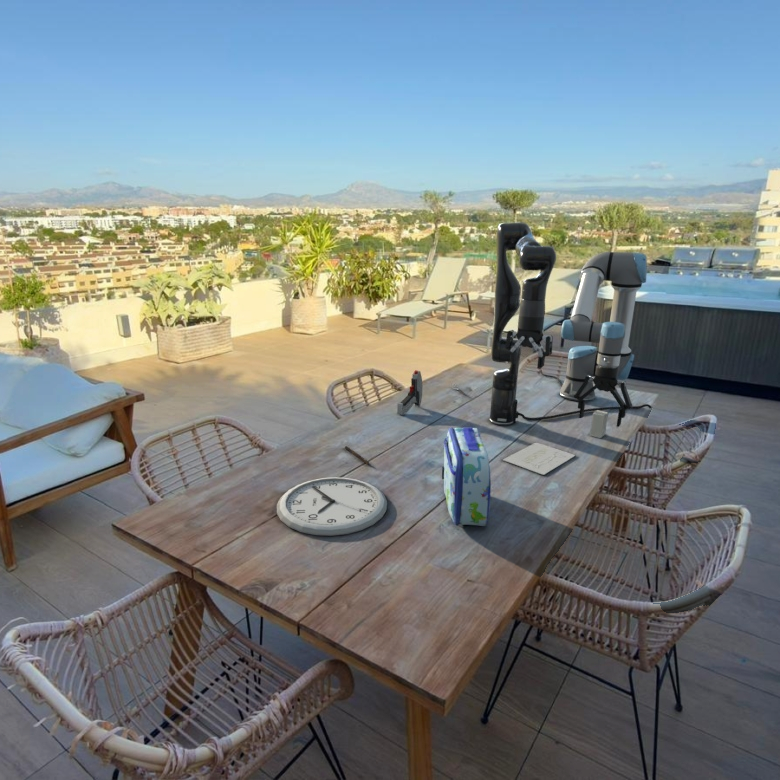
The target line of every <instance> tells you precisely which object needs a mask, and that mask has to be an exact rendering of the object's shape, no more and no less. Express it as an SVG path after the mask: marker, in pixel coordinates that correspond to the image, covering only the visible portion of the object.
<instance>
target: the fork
mask: <svg viewBox="0 0 780 780" xmlns="http://www.w3.org/2000/svg"><path fill="white" fill-rule="evenodd" d="M450 385H451V387H452V389H453V390H457V391H458V392H459V393H460V394H462V395H463V396H466V397H467V394H466V393H465V392H464V391H463V390H460V389H459V387H458V385H457V383H456V382H454V383H451V384H450Z"/></svg>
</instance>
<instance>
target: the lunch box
mask: <svg viewBox="0 0 780 780" xmlns="http://www.w3.org/2000/svg"><path fill="white" fill-rule="evenodd" d="M443 448H444V450H443V465H442V466H441V467H442V468H441V480H443V493H444V495H445V500H446V506H447V510H448V515H449V517H450V519H451V521H452V523H453V524H454V525H455V527H458V526H465V525H469V526H480V527H485V526H487V524H488V521H489V516H490V507H491V490H492V489H491V487H492V483H491V481H492V480H491V479H492V478H491V477H492V476H491V467H490V463H489V455H488V451H487V449H486V447H485V445H484V443H483V440H482V437H481V433H480V431H479V429H478V428H477V427H473V426H468V427H449V428H448V431H447V435H446V437H445V439H444V440H443Z"/></svg>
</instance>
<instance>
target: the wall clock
mask: <svg viewBox="0 0 780 780" xmlns="http://www.w3.org/2000/svg"><path fill="white" fill-rule="evenodd" d="M387 509H388V500H387V498H386V496H385V494H384V493H383V492H382V491H381V490H380V489H379V488H377V487H376V486H374V485H372V484H371V483H369V482H365V481H362V480H359V479H355V478H349V477H338V476H337V477H335V476H333V477H332V476H331V477H322V478H317V479H312V480H307V481H305V482H302V483H299V484H297V485H295V486H293V487H292V488H290V489H288V490H287V491H286V492H285V493H284V494H283V495H281V496H280V498H279V499H278V502H277V503H276V515H277V517H278V518H279V520H280V521H281V522H282V523H283V524H285V525H286V526H287V527H288V528H290V529H293V530H295V531H297V532H299V533H303V534H308V535H312V536H327V537H328V536H329V537H331V536H332V537H333V536H342V535H350V534H352V533H356V532H361V531H363V530H366V529H368V528H369V527H372V526H373V525H375V524H376V523H378V522H379V521H380V520H381V519H382V518H383V517H384V516H385V514H386V512H387Z"/></svg>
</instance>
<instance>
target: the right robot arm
mask: <svg viewBox="0 0 780 780" xmlns="http://www.w3.org/2000/svg"><path fill="white" fill-rule="evenodd" d="M647 271H648V258H647V255H646V254H645V253H643V252H631V251H630V252H628V251H603V252H600V253H598V254H595V255H594V256H592V257H591V258H590V259H588V260H587V261H586V262H585V264H584V265H583V266H582V268H581V270H580V273H579V276H578V277H579V281H580V282H579V286H578V290H577V293H576V297H575V301H574V304H573V308H572V312H571V315H570V317H569V318H570V319H564V320H563V321H562V325H561V331H560V336H561V338H562V339H563V340H568V341H576V342H585V343H595V344H598V347H597V346H593V345H579V346H573V347H571V348H570V349H569V351H568V357H567V363H566V373H565V379H564V381H563V384H562V383H561V381H560V378H559V377H557V376H554V375H549V374H545V373H543V371H542V369H539V371H538V372H539V373H540V374H541V376H543V377H547V378H552V379H556V380H557V383H558V384H559V385H560V386H561V388H560V389H559V396H560V397H561V398H563V399H566V400H569V401H573V402H577V409H579V410H580V413H578V414H579V415H578V418H579V419H582V418H583V417H584V413H585V412H584V410H585V408H586V402H593V401H594V400H595V398H596V392H595V390H596V389H597V390H598V391H600V392H601V391H603V392H607V393H610V395H612V397H613V398H614V399H615V401H616V402H617V404H618V405H619V407H621V408H620V409H618V414H617V418H616V419H617V421H616V427H618V428H619V427H620V426H621V424H622V419H624V418H625V417H626V414H627V413H626V412H627V410H632V409H631V408H632V406H633V403H632V401H631V400H632V399H631V398H630V395H629V391H628V388H627V381H625V380H627V379H628V378H629V375H630V372H631V369H632V366H633V362H634V359H635V354H633V353H632V349H631V348H630V347H629V344H630V337H631V331H632V323H633V318H634V310H635V304H636V298H637V297H636V296H637V291H638V290H640V289H641V288H642V286H643V284H645V283H647ZM604 281H606V282H611V283H610V286H611V287H612V288H613V296H612V304H611V311H610V317H609V321H604V322H597V321H596V322H595V321H592V318H593V315H594V310H595V306H596V302H597V298H598V294H599V290H600V286H601V285H602V284H603V283H604ZM617 386H618V387H619V388H620V391H621V394H622V396H621V395H620V393H619V392H618V390H617V388H616V387H617ZM622 397H623V398H622Z"/></svg>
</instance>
